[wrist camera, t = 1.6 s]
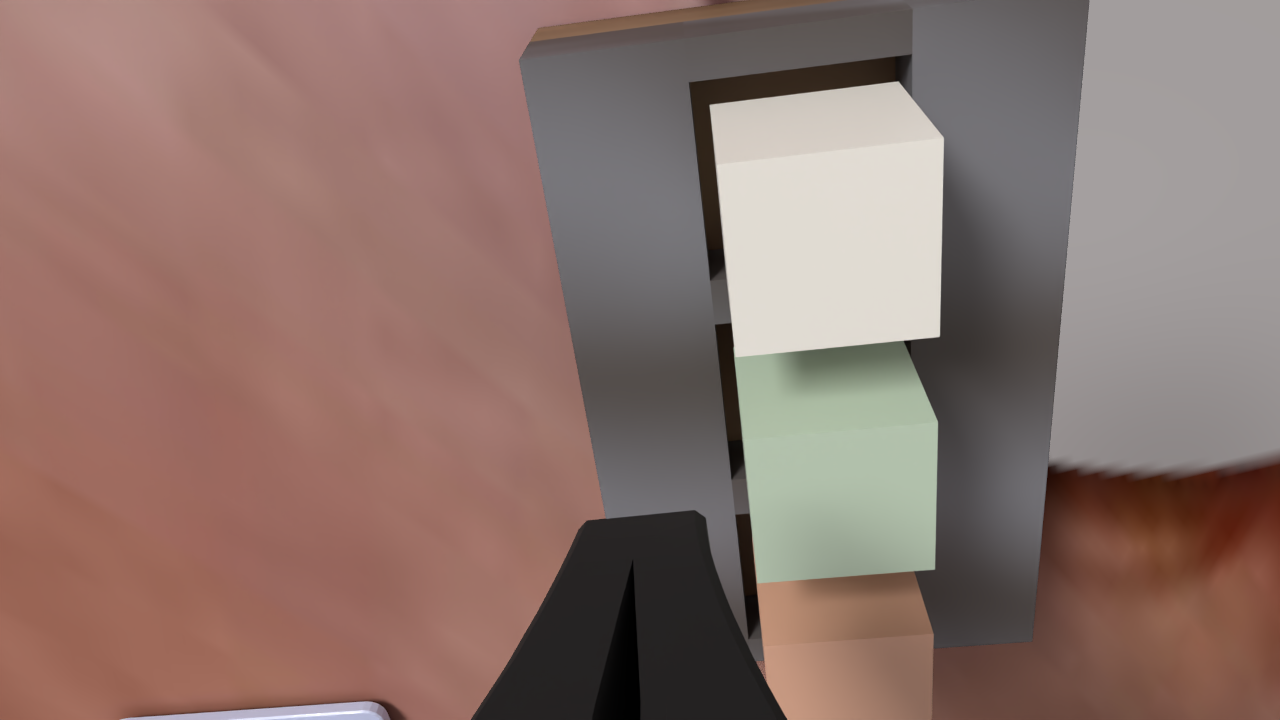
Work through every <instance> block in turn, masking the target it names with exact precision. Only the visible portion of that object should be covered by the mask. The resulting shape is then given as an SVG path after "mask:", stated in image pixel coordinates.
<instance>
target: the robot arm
mask: <svg viewBox="0 0 1280 720" xmlns="http://www.w3.org/2000/svg"><path fill="white" fill-rule="evenodd" d="M121 720H390V718H389V715H388V713H387V711H386V710H385V708H384V707H382V706H381V705H380V704H378V703H375V702H369V701H364V702H349V703H335V704H321V705H306V706H292V707H278V708H263V709H249V710H235V711H221V712H206V713H192V714H178V715H163V716H149V717H135V718H125V719H121ZM471 720H787V718H786V716H785V715H784V713H783V711H782V709H781V707H780V706H779V704H778V702H777V700H776V699H775V697H774V695H773V693H772V691H771V690H770V688H769V686H768V684H767V682H766V681H765V679H764V677H763V675H762V673H761V671H760V669H759V667H758V665H757V663H756V661H755V659H754V657H753V655H752V653H751V651H750V649H749V647H748V645H747V643H746V640H745V638H744V636H743V634H742V632H741V630H740V627H739V625H738V623H737V621H736V619H735V617H734V615H733V612H732V610H731V608H730V605H729V603H728V600H727V598H726V595H725V593H724V590H723V587H722V584H721V582H720V579H719V576H718V573H717V571H716V568H715V564H714V561H713V558H712V554H711V549H710V543H709V536H708V529H707V522H706V517H704V516H703V515H701V514H700V513H698V512H697V511H696V510H690V511H680V512H669V513H659V514H649V515H639V516H629V517H619V518H609V519H599V520H588V521H586V522H585V523H584V524H583V525H582V527H581V528H580V529H579V530H578V532H577V534H576V537H575V539H574V541H573V543H572V546H571V548H570V550H569V552H568V554H567V556H566V558H565V560H564V562H563V564H562V566H561V568H560V570H559V572H558V574H557V576H556V578H555V580H554V582H553V584H552V586H551V588H550V590H549V591H548V593H547V595H546V597H545V599H544V601H543V603H542V605H541V606H540V608H539V610H538V612H537V614H536V615H535V617H534V619H533V621H532V622H531V624H530V626H529V627H528V629H527V631H526V633H525V634H524V636H523V638H522V639H521V641H520V643H519V645H518V646H517V648H516V650H515V652H514V653H513V655H512V657H511V658H510V660H509V662H508V663H507V665H506V667H505V668H504V670H503V671H502V673H501V675H500V676H499V678H498V679H497V681H496V682H495V684H494V685H493V687H492V688H491V690H490V691H489V693H488V694H487V696H486V697H485V699H484V700H483V702H482V703H481V705H480V707H479V708H478V710H477V711H476V713H475V714H474V716H473V717H472V719H471Z"/></svg>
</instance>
